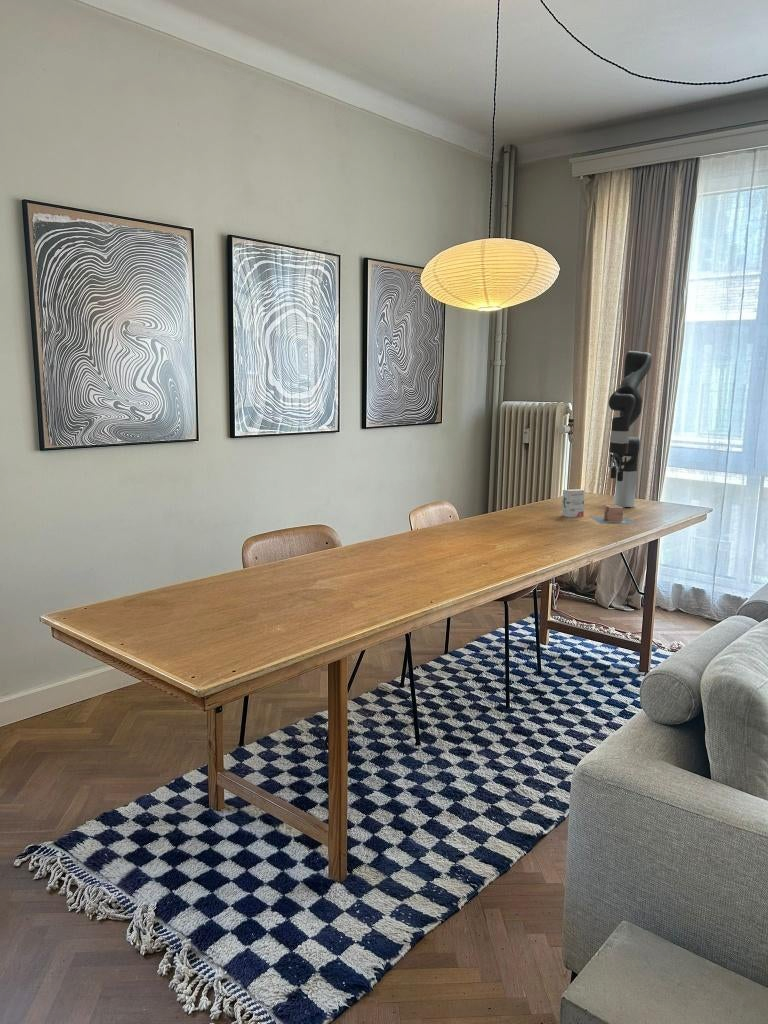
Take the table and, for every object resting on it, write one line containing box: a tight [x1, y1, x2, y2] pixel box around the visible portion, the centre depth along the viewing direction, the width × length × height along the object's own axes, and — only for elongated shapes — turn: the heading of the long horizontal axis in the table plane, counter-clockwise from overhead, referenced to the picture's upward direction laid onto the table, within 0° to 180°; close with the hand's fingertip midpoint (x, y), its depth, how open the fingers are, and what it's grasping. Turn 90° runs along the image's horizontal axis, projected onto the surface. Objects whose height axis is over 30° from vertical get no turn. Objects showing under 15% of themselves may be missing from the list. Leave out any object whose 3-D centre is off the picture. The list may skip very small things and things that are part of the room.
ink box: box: [561, 488, 585, 518], centre depth 340 cm, size 9×5×12 cm, turn 116°
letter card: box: [589, 516, 638, 525], centre depth 331 cm, size 16×16×1 cm
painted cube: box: [603, 504, 624, 522], centre depth 331 cm, size 6×6×6 cm
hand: (616, 479), depth 328 cm, fingers open, 8 cm apart
